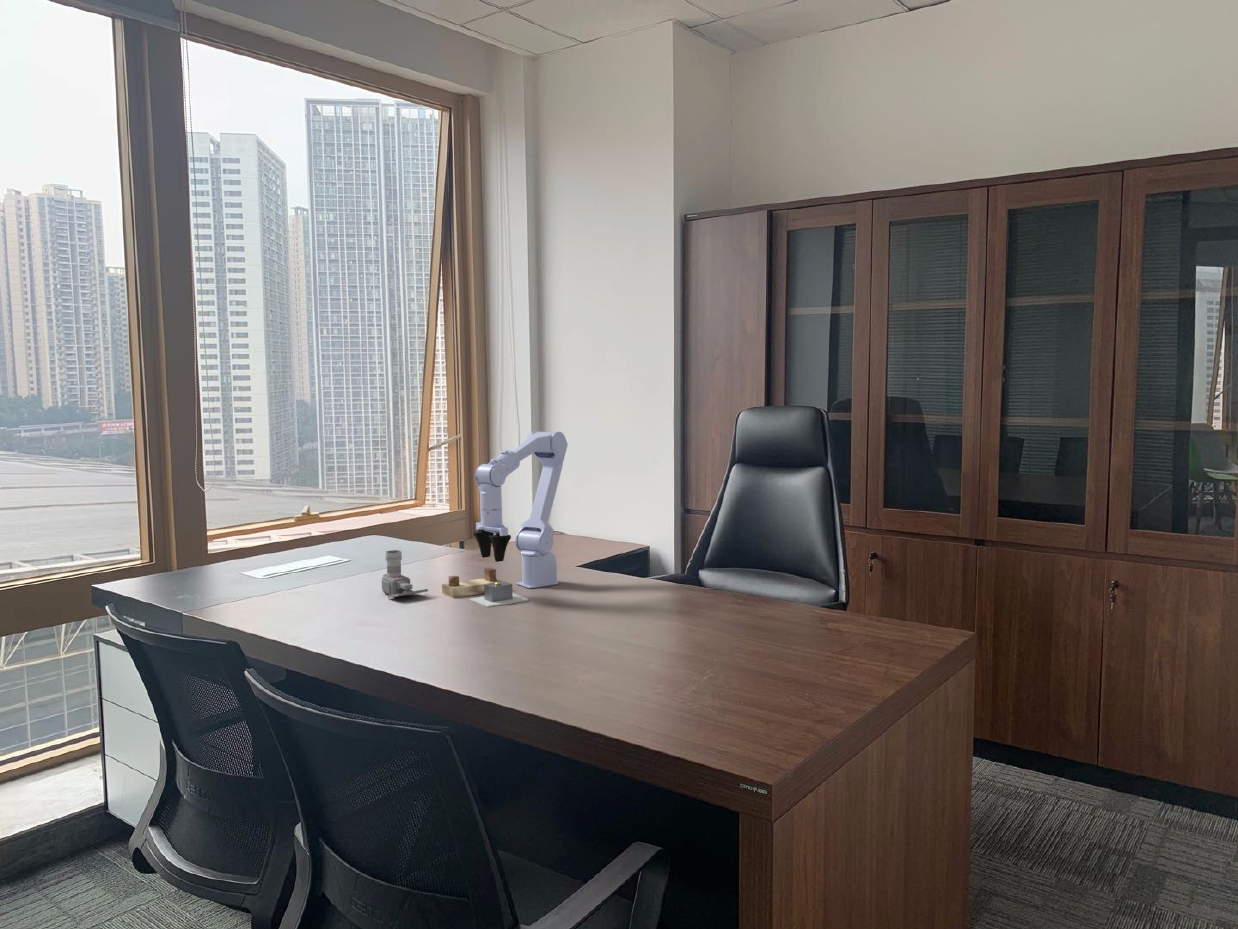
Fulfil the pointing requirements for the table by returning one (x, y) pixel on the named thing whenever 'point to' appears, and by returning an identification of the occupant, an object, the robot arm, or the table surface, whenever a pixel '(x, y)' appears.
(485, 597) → the lever cap
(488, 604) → the felt mat
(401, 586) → the camera
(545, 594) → the table surface
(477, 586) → the body
